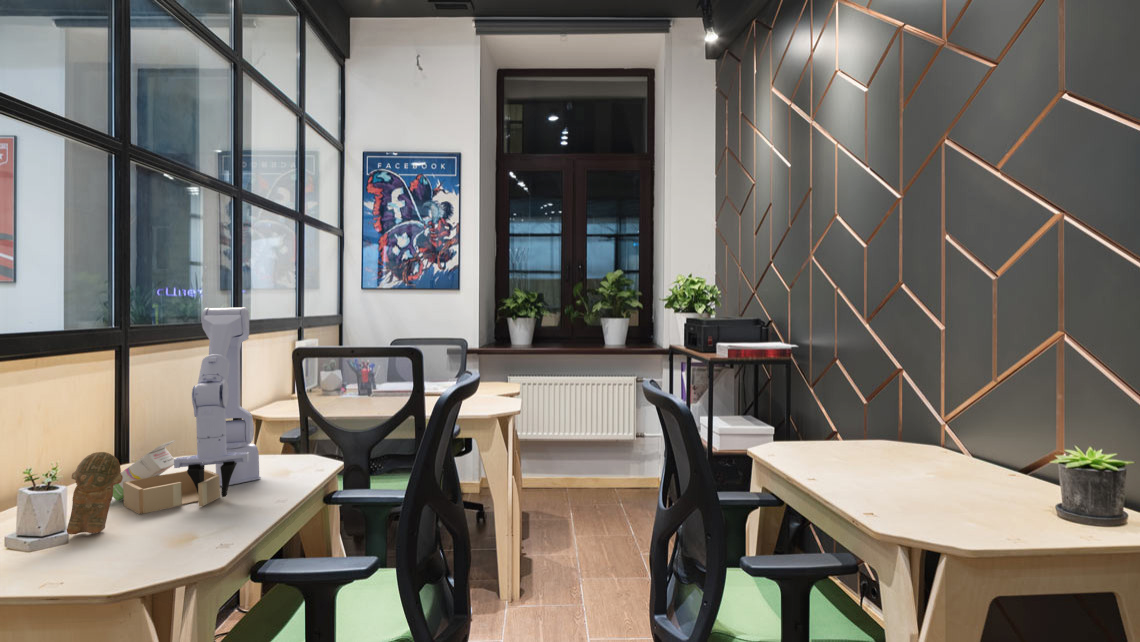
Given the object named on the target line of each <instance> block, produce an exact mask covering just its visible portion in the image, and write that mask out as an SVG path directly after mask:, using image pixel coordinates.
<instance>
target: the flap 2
mask: <svg viewBox="0 0 1140 642" xmlns="http://www.w3.org/2000/svg"><path fill="white" fill-rule="evenodd" d="M220 487H221V486H220V480H219V475H216V476H213V477H211V478H209V479H207V480H205V481H203V482H201V483H198V497H199V502H198V507H204V506H206V505H208V504H209V503H212V502H213V501H215V500H218V499H219V498H220V497H221V490H220V489H221V488H220Z"/></svg>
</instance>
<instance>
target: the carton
mask: <svg viewBox="0 0 1140 642" xmlns="http://www.w3.org/2000/svg"><path fill="white" fill-rule="evenodd" d="M216 475H219V474H216V472H213V471H211V470H207V469H205V468H204V481H205V480H207V479H209V478H211V477H213V476H216ZM178 482H181V491H182V505H181V506H185V505H189V504H190V505H191V504H195V503H199V497H198V492H197V489H196V487H195V484H194V482H193V481H192V479H191V477H190V476H189V475H188V473H187V470H183V471H175V472H171V473H165V474H160V475H159V476H153V477H148V478H142V479H137V480H131V481H126V482H123V497H124V498H123V507H125V508H127V509H128V510H130V511H132V512H134V513H136V514H138V515H144V514H145V513H143V490H142V489H146V488H151V487H157V486H162V485H167V484H172V483H178ZM171 508H173V507H171ZM171 508H170V509H171ZM162 510H164V509H162ZM162 510H161V511H162ZM157 512H159V510H157ZM148 513H150V512H148ZM148 513H147V514H148Z"/></svg>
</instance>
